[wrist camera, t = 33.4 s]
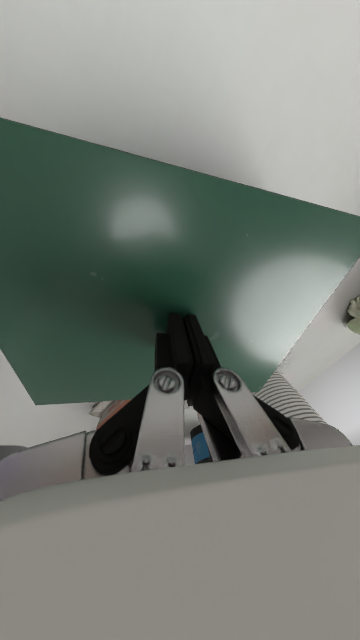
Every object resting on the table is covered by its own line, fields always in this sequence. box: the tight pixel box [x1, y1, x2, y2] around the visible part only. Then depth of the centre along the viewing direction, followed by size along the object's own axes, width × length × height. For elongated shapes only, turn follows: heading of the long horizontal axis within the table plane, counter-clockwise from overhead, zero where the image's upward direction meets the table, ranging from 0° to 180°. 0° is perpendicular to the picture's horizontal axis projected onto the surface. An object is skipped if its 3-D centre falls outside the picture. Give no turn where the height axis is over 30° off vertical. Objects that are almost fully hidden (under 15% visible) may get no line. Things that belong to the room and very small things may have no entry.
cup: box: [251, 369, 327, 424], centre depth 23 cm, size 8×8×16 cm
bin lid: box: [0, 118, 360, 405], centre depth 11 cm, size 20×16×1 cm
